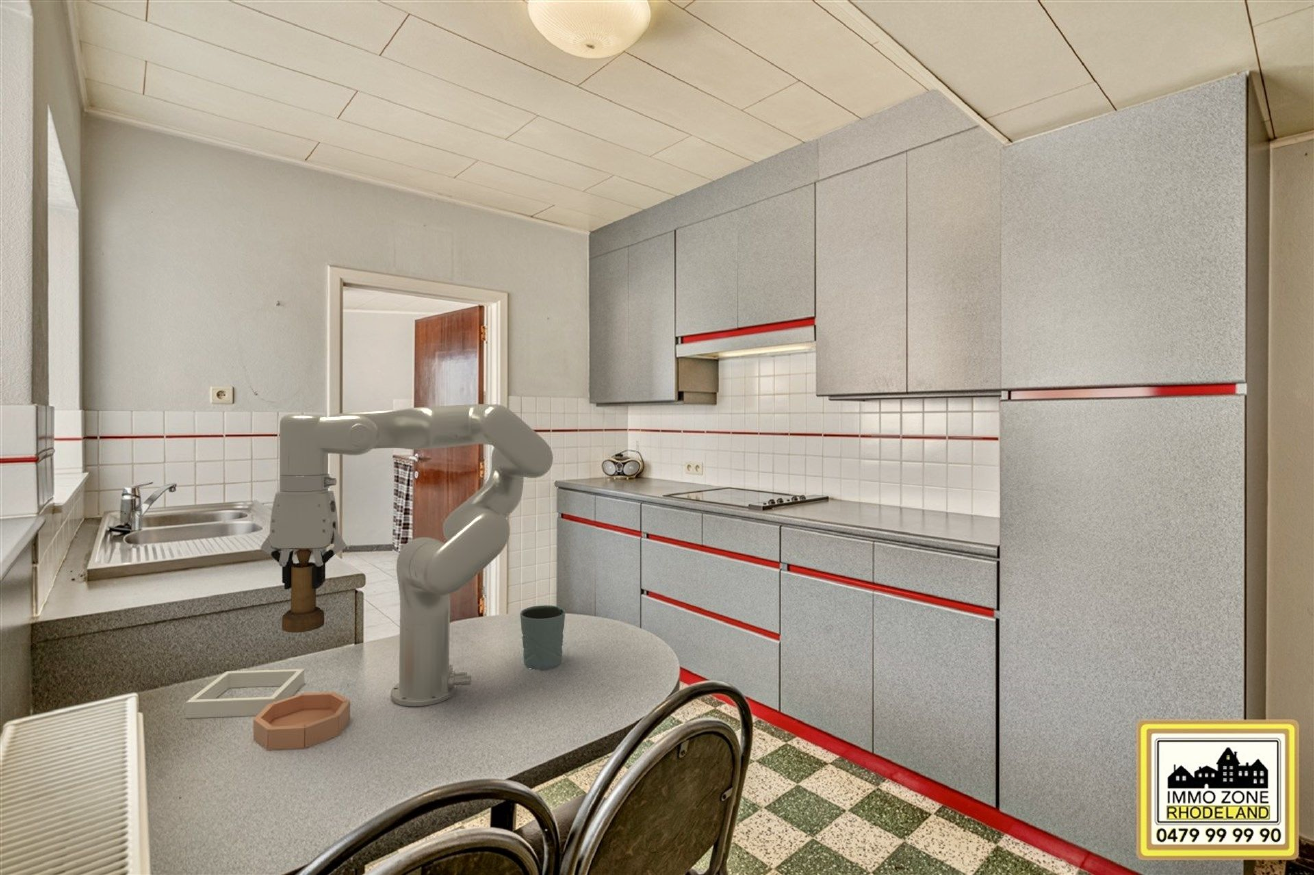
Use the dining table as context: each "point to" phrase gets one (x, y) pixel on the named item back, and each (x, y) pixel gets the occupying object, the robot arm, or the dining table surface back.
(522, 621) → the drinking glass
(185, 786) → the dining table surface
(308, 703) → the terracotta bowl
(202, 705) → the open rectangular frame
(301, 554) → the dark brown knobbed post
